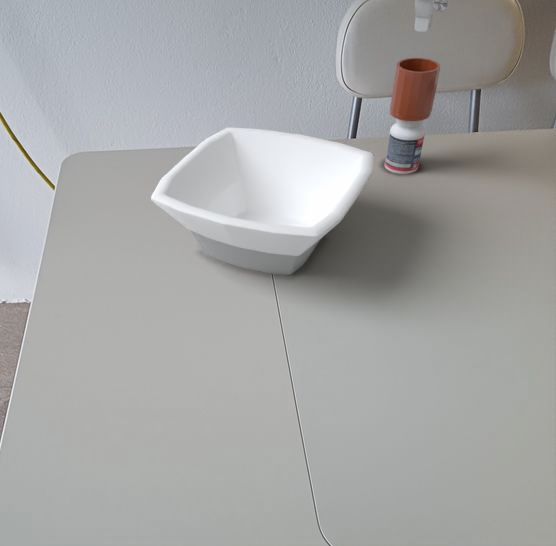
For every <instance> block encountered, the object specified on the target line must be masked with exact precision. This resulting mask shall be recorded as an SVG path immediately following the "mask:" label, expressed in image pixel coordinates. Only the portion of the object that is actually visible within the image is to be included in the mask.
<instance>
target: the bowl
mask: <svg viewBox="0 0 556 546" xmlns="http://www.w3.org/2000/svg"><path fill="white" fill-rule="evenodd" d="M374 156H375V154H374V153H372V152H370V151H368V150H364V149H361V148H358V147H354V146H351V145H348V144H345V143H343V142H337V141H332V140H328V139H323V138H320V137H314V136H311V135H310V136H309V135H307V134H306V135H305V134H300V133H292V132H285V131H278V130H270V129H263V128H247V127H229V126H228V127H225V128H224V129H222V130H220V131H218V132H216V133H214V134H213V135H211V136H209V137H207V138H205V139H204V140H202V141H201V142H200V143H199V144H198V145H197V146H196V147H195V148H194V149H192V150H191V151H190V152H189V153H188V154H187V155H185V156H184V157H183V158H182V159H181V160H180V161H179V162H178V163H176V164H175V165H174V166H173V167H172V168H171V169H170V170H169V171H168V172H167V173H166V174H165V175H163V177H162V178H160V180H159V182H158V184H157V185H156V187H155V189H154V190H153V192H152V194H151V196H150V199H151V202H153V203H154V204H155V205H156V206H157V207H159V208H160V209H162V210H163V211H164V212H166V213H167V214H168V215H169V216H171V217H172V218H173V219H175V220H176V221H177V222H178V223H180V225H182V226H183V227H185V228H186V229H187V230H189V231H190V232H191V234H192V236H193V237H194V239H195V241H196V242H197V243H198V245H199V246H200V248H201V250H202V252H203V253H204V254H205V255H207V256H209V257H212V258H214V259H216V260H217V261H220V262H223V263H226V264H230V265H232V266H235V267H239V268H242V269H245V270H250V271H256V272H262V273H266V274H273V275H274V274H275V275H284V276H291V275H292V274H294V273H295V272H296V271H298V270H299V269H301V267H303V266H304V265H305V263H306V262H307V260H308V259H309V257H310V256H312V255H311V254H312V253H313V252H314V250H315V249H316V247H317V246H318V244H319V243H320V241H321V240H322V238H323V237H324V236H326V235H327V234H328V233H330V231H331V230H333V229H334V228H335V227H336V226H337V225H339V224H340V223H341V222H342V220H343V219H344V218H345V216H346V215H347V213H348V212H349V211H350V209H351V208H352V206H353V204H354V203H355V202H356V201H357V199H358V197H359V196H360V194H361V192H362V191H363V189H364V188H365V186H366V185H367V183H368V181H369V179H370V178H371V176H372V175H373V172H374V171H373V170H374Z"/></svg>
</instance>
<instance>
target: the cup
mask: <svg viewBox="0 0 556 546" xmlns="http://www.w3.org/2000/svg"><path fill="white" fill-rule="evenodd" d="M440 71H441V64H440V63H439V62H438V61H436V60H433V59H431V58H425V57H406V58H402V59H400V60H398V61H397V62H396V66H395V72H394V79H393V86H392V93H391V99H390V105H389V114H390V116H391V117H393V119H396V118H397V119H400V120H404V121H421V120H423V121H424V120H427V119H429V118H430V117H431V114H432V112H433V105H434V101H435V96H436V92H437V86H438V81H439V76H440Z"/></svg>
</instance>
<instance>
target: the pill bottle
mask: <svg viewBox="0 0 556 546" xmlns="http://www.w3.org/2000/svg"><path fill="white" fill-rule="evenodd" d="M423 123H424V120H421V121H404V120H400V119H397V118H395V123H394V124H392V126H391V127H390V129H389V136H388V141H387V149H386V154H385V160H384V168H385V169H386V170H387V171H389V172H392V173H395V174H401V175H408V174H412V173H415V172H416V171H417V170H418V169H419V165H420V160H421V155H422V150H423V145H424V140H425V135H426V130H425V127H424V126H423Z"/></svg>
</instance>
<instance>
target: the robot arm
mask: <svg viewBox="0 0 556 546" xmlns="http://www.w3.org/2000/svg"><path fill="white" fill-rule="evenodd" d="M450 2H451V0H414V14H415V20H414V21H415V22H414V27H413V28H414V31H416V32H420V33H426V32H427V31H429V29H430V28H431V26H432V21H433V10H434V11H435V12H445V11H446V10H447V9H448V8H449V6H450Z"/></svg>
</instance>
